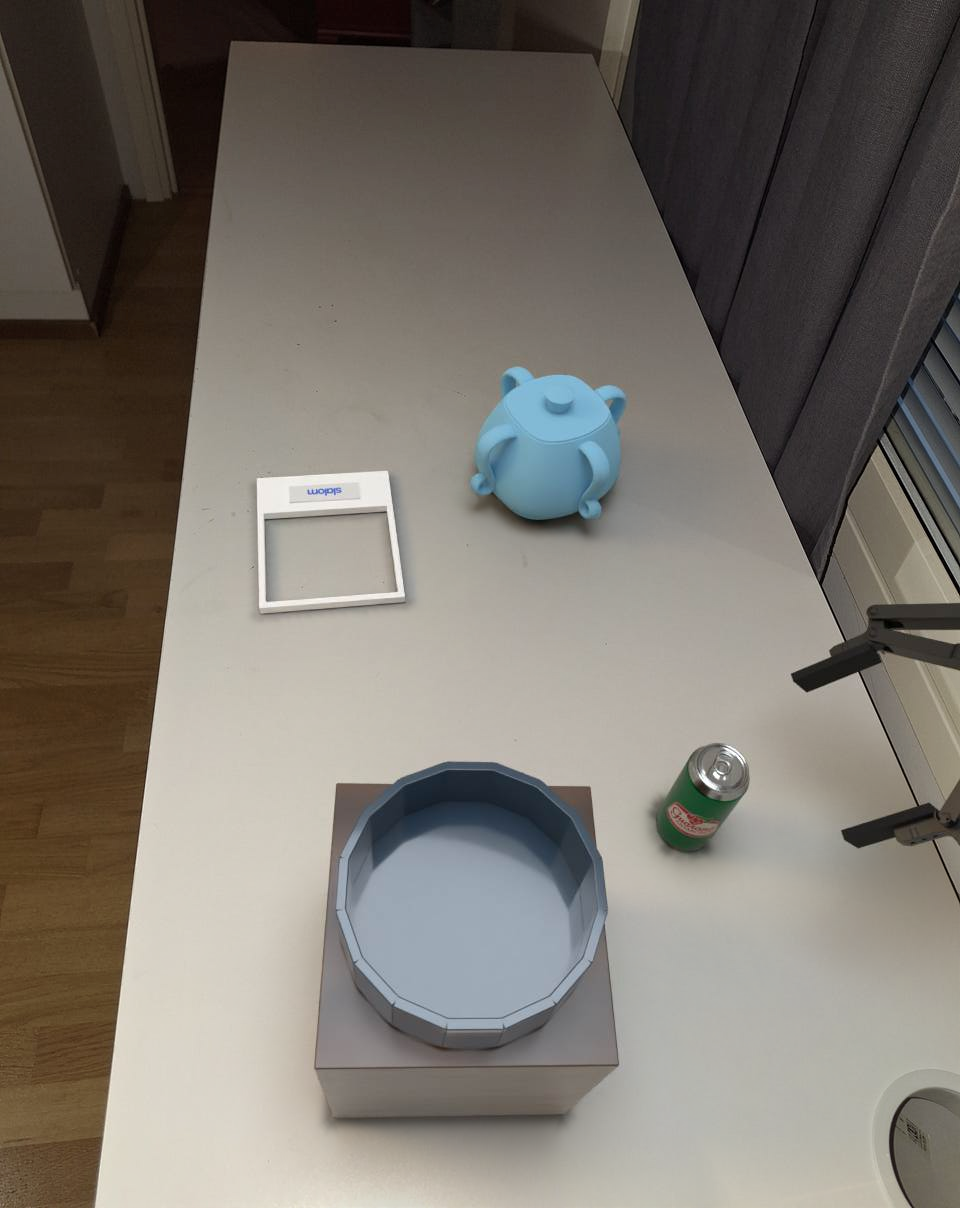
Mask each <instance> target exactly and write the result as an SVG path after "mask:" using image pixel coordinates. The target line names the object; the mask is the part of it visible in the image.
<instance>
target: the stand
mask: <svg viewBox="0 0 960 1208" xmlns="http://www.w3.org/2000/svg"><path fill="white" fill-rule="evenodd" d="M392 784H393V783H360V782H359V783H357V782H355V783H354V782H352V783H350V782H349V783H348V782H337V783H336V784H335V791H334V792H335V793H334V805H333V810H334V811H333V817H332V818H333V819H332V833H331V845H330V858H329V859H330V861H329V872H328V884H327V895H326V896H327V897H326V907H325V908H326V910H325V922H324V936H323V949H322V962H321V973H320V974H321V975H320V987H319V1000H318V1012H317V1014H318V1015H317V1024H316V1025H317V1026H316V1036H315V1037H316V1039H315V1041H316V1042H315V1050H314V1051H315V1053H314V1064H313V1069H314V1071H315V1074H316V1077H317V1080H318V1081H319V1084H320V1086H321V1089H322V1092H323V1094H324V1097H325V1099H326V1102H327V1104H328V1107H329V1110H330V1112H331V1114H332V1117H333V1118H335V1119H340V1118H341V1119H343V1118H344V1119H345V1118H347V1119H348V1118H397V1117H398V1118H402V1117H403V1118H404V1117H405V1118H406V1117H407V1118H412V1117H471V1116H473V1117H474V1116H475V1117H476V1116H478V1117H479V1116H535V1115H536V1116H539V1115H542V1116H543V1115H565V1114H567V1112H568V1111H570V1110H571V1109H572V1108H573V1107H574V1106H576V1105H577V1104H578V1103H579V1102H581V1100H582V1099H583V1098H584V1097H585V1096H587V1094H589V1093H590V1092H591V1091H592V1090H593V1089H595V1088H596V1086H598V1085H599V1084H600V1083H601V1082H602V1081H603V1080H605V1078H607V1077H608V1076H609V1075H610V1074H611V1073H612V1072H614V1071H615V1070H616V1069H617V1068H618V1067H619V1066H620V1060H619V1050H618V1040H617V1033H616V1032H617V1031H616V1019H615V1011H614V1001H613V991H612V981H611V972H610V963H609V962H610V961H609V952H608V943H607V934H606V933H607V932H606V924H604V927H603V930H602V934H601V937H600V940H599V944H598V947H597V950H596V954H595V957H594V960H593V963H592V965H591V966H590V968H589V969H588V971H587V972H586V974H585V975H584V977H583V978H582V980H581V981H580V983H579V984H578V986H577V987H576V988H575V989H574V991H573V992H572V993H571V994H570V995H569V996H568V998H567V999H566V1000H565V1001H564V1002H563V1004H562V1005H561V1006H560V1007H559V1008H558V1009H557V1011H556V1012H555V1013H554V1014H553V1015H552V1016H551V1018H550V1019H549V1020H548V1021H547V1022H546V1023H545V1024H544V1025H542V1026H540V1027H538V1028H536V1029H534V1030H532V1031H531V1032H529V1033H527V1034H525V1035H524V1036H522V1037H520V1038H518V1039H515V1040H513V1041H510V1042H507V1043H505V1044H502V1045H500V1046H496V1047H488V1048H480V1049H453V1048H443V1047H440V1046H437V1045H433V1044H430V1043H427V1042H425V1041H422V1040H419V1039H416V1038H415V1037H413V1036H411V1035H409V1034H407V1033H405V1032H403V1031H401V1030H400V1029H399V1028H397V1027H395V1026H393V1024H390V1022H389V1021H388V1020H386V1019H385V1018H384V1017H383V1016H382V1015H381V1014H380V1013H379V1012H378V1011H377V1010H376V1009H375V1008H374V1007H373V1006H372V1004H371V1003H370V1002H369V1001H368V999H367V998H366V997H365V995H364V994H363V993H362V991H361V990H360V989H359V988H358V987H357V985H356V984H355V981H354V978H353V975H352V972H351V969H350V967H349V965H348V962H347V958H346V955H345V952H344V949H343V946H342V943H341V940H340V937H339V932H338V925H337V919H336V913H335V903H336V889H337V875H338V861H339V856H340V854H341V852H342V850H343V848H344V846H345V844H346V842H347V840H348V838H349V836H350V834H351V832H352V830H353V828H354V826H355V824H356V822H357V820H358V818H359V816H360V814H361V812H363V810H364V809H365V808H366V807H367V806H369V805H370V804H371V803H372V802H373V801H374V800H375V799H376V798H378V797H379V796H380V795H381V794H382V793H383V792H384V791H386V790H387V789H388V788H389V787H390V786H391V785H392ZM547 786H548V787H549V788H551V789H552V790H553V791H554V792H555V793H556V794H557V795H558V796H560V797H561V798H562V799H563V800H564V801H565V802H566V803H567V804H569V805H570V806H571V807H572V808H573V809H574V810H575V811H576V812H578V814H579V815H580V817H581V819H582V821H583V823H584V825H585V826H586V828H587V830H588V832H589V834H590V836H591V838H592V840H593V842H594V844H595V846H596V847H597V846H598V845H597V835H596V827H595V817H594V808H593V807H594V806H593V797H592V789H591V788H592V787H591V786H590V785H588V786H587V785H586V786H585V785H584V786H583V785H547ZM597 848H598V847H597Z"/></svg>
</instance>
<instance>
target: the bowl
mask: <svg viewBox="0 0 960 1208" xmlns="http://www.w3.org/2000/svg"><path fill="white" fill-rule="evenodd" d="M391 784H392V785H391V786H390V787H389V788H388V789H387V790H386V791H384V792H383V793H382V794H381V795H380V796H379V797H378V798H376V799H375V800H374V801H373V802H372V803H371V804H370V805H369V806H367V807H366V808H365V809H364V810H363V812H361V814H360V816H359V818H358V820H357V822H356V824H355V826H354V828H353V830H352V832H351V834H350V836H349V838H348V840H347V842H346V844H345V846H344V848H343V850H342V852H341V854H340V856H339V861H338V875H337V889H336V903H335V913H336V919H337V925H338V932H339V937H340V940H341V943H342V946H343V949H344V952H345V955H346V958H347V962H348V965H349V967H350V969H351V972H352V975H353V978H354V981H355V984H356V985H357V987H358V988H359V989H360V990H361V991H362V993H363V994H364V995H365V997H366V998H367V999H368V1001H369V1002H370V1003H371V1004H372V1006H373V1007H374V1008H375V1009H376V1010H377V1011H378V1012H379V1013H380V1014H381V1015H382V1016H383V1017H384V1018H385V1019H386V1020H388V1021H389V1022H390V1024H393V1026H395V1027H397V1028H399V1029H400V1030H401V1031H403V1032H405V1033H407V1034H409V1035H411V1036H413V1037H415V1038H416V1039H419V1040H422V1041H425V1042H427V1043H430V1044H433V1045H437V1046H440V1047H443V1048H453V1049H480V1048H488V1047H496V1046H500V1045H502V1044H505V1043H507V1042H510V1041H513V1040H515V1039H518V1038H520V1037H522V1036H524V1035H525V1034H527V1033H529V1032H531V1031H532V1030H534V1029H536V1028H538V1027H540V1026H542V1025H544V1024H545V1023H546V1022H547V1021H548V1020H549V1019H550V1018H551V1016H552V1015H553V1014H554V1013H555V1012H556V1011H557V1009H558V1008H559V1007H560V1006H561V1005H562V1004H563V1002H564V1001H565V1000H566V999H567V998H568V996H569V995H570V994H571V993H572V992H573V991H574V989H575V988H576V987H577V986H578V984H579V983H580V981H581V980H582V978H583V977H584V975H585V974H586V972H587V971H588V969H589V968H590V966H591V965H592V963H593V960H594V957H595V954H596V950H597V947H598V944H599V940H600V937H601V934H602V930H603V927H604V924H605V923H606V920H607V916H608V913H609V906H608V898H607V888H606V879H605V870H604V860H603V857H602V855H601V853H600V851H599V850H598V847H596V846H595V844H594V842H593V840H592V838H591V836H590V834H589V832H588V830H587V828H586V826H585V825H584V823H583V821H582V819H581V817H580V815H579V814H578V812H576V811H575V810H574V809H573V808H572V807H571V806H570V805H569V804H567V803H566V802H565V801H564V800H563V799H562V798H561V797H560V796H558V795H557V794H556V793H555V792H554V791H553V790H552V789H551V788H549V787H548V786H549V785H547V784H546V783H545V782H544V781H543V780H541V779H539V778H537V777H534V776H532V775H530V774H526V773H524V772H522V771H519V770H517V769H514V768H512V767H509V766H506V765H504V764H502V763H498V762H494V761H452V760H451V761H444V762H441V763H438V764H435V765H432V766H430V767H427V768H424V769H421V770H419V771H416V772H413V773H411V774H407V775H404V776H401V777H399V778H398V779H397V780H396V781H395V782H394V783H391ZM605 925H606V924H605Z"/></svg>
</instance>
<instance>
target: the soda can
mask: <svg viewBox="0 0 960 1208" xmlns="http://www.w3.org/2000/svg"><path fill="white" fill-rule="evenodd" d="M750 780H751V779H750V768H749V764H748V762H747V759H746V758H745V756H744V755H743V754H742V753H741V752H740V751H739V750H738V749H736V747H733V746H731V745H729V744H726V743H722V742H713V743H708V744H706V745H703V746H700V747H698V748H697V749H695V750H694V751H693V752H692V753H691V755H690V756H689V757H688V759H687V760H686V763H685V764H684V766H683V768H682V769H681V771H680V772H679V775H678V777H677V778H676V780H675V781H674V783H673V784H672V786H671V788H670V790H669V791H668V793H667V795H666V797H664V800H663V801H662V803H661V805H660V807H659V809H658V811H657V814H656V826H657V829H658V831H659V834H660V835H661V837H662V838H663V839H664V841H665V842H667V844H669V845H670V846H671V847H673V848H675V849H678V850H679V851H685V852H694V851H699V850H701V849H703V848H704V847H705V846H707V845H708V844H709V842H710V841H711V840H712V838H713V837H714V836H715V835H716V833H717V832H718V830H719V829H720V827H721V826H722V825H723V824H724V822H725V821H726V820H727V819H728V818H729V815H731V813H732V812H733V810H734V809H735V808H736V806H737V805H738V803H739V802H740V801H741V800H742V798H743V797H744V795H746V793H747V792H748V790H749V787H750Z"/></svg>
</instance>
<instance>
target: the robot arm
mask: <svg viewBox="0 0 960 1208" xmlns="http://www.w3.org/2000/svg"><path fill="white" fill-rule="evenodd" d="M865 612H866V616H867V618H868V619H867V622H868V623H867V629H866V630H865V631H864V632H863V633H861V634H859V635H857V636H854V637H852V638H850V639H847V640H846V641H845V640H844V641H843V642H841V643H838V644H836V645H833V646H832V647H831V648H830V649H829V650H828V652H829V655H830V657H827V658H825V659H822V660H819V661H818V662H816V663H815V662H814V663H813V664H811V665H810V664H809V665H808V666H805V667H803V668H801V669H798V670H796V671H793V672H791V673H790V676H791V679H792V682H793V683H794V684H795V685H797V686H798V687H799V688H800V689H801V690H803V691H804V692H805V693H810V692H813V691H815V690H818V689H820V688H822V687H824V686H827V685H830V684H832V683H835V682H837V681H840V680H842V679H844V678H847V677H849V676H852V675H854V674H857V673H860V672H862V671H864V670H867V669H869V668H872V667H874V666H878V665H880V664H882V663H883V661H882V658H881V655H880V654H882V655H886V653H887V654H891V655H894V656H898V657H902V658H906V659H910V660H915V661H919V662H922V663H927V664H931V665H936V666H939V667H944V668H947V669H950V670H955V671H959V672H960V642H956V643H951V642H946V641H942V640H938V639H934V638H929V637H924V636H920V635H915V634H910V633H908V632H907V633H906V632H902V631H960V602H943V603H942V602H941V603H940V602H939V603H937V602H935V603H898V604H897V603H889V604H888V603H887V604H872V605H870V606H869V607H868V608H867V609H866V611H865ZM878 652H880V653H878ZM840 832H841V835H842V839H843V841H845V842H846V843H848V844H850V845H851V846H853V847H854V848H856V849H861V848H862V849H863V848H865V847H868V846H872V845H874V844H879V843H881V842H884V841H888V840H892V839H896V842H897V843H899V844H901V845H902V846H903V847H915V846H917V845H921V844H924V843H927V842H932V841H935V840H938V839H942V838H947V837H951V838H952V839H954V841H955V842H956V843H957V844H958V846H959V847H960V778H959V780H958V781H957V783H956V784H955V786H954V787H953V789H952V790H951V792H950V794H949V795H948V796H947V798H946V800H945V801H944V804H942V806H941V808H940V810H939V809H938V808H937V807H935V806H934V805H933V804H932V803H930V802H926V803H922V804H920V805H916V806H913V807H910V808H907V809H903V810H901V811H897V812H895V813H891V814H888V815H885V816H882V817H878V818H875V819H872V820H869V821H865V822H863V823H859V824H856V825H853V826H850V827H846V828H844V829H841V830H840Z"/></svg>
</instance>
